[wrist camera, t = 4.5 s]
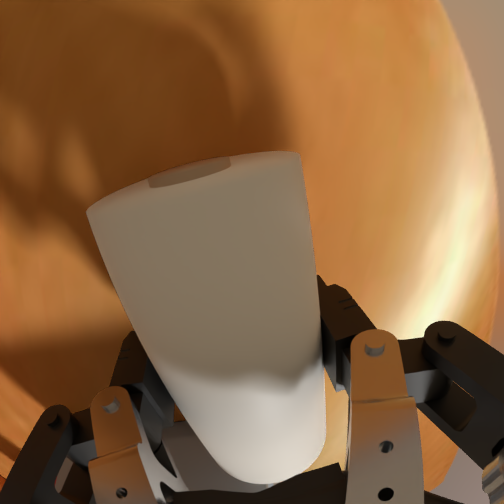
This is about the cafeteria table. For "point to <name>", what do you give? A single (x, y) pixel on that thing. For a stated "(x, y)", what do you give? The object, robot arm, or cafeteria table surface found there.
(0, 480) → the whiskey bottle
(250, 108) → the cafeteria table surface
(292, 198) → the roll
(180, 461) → the holder
